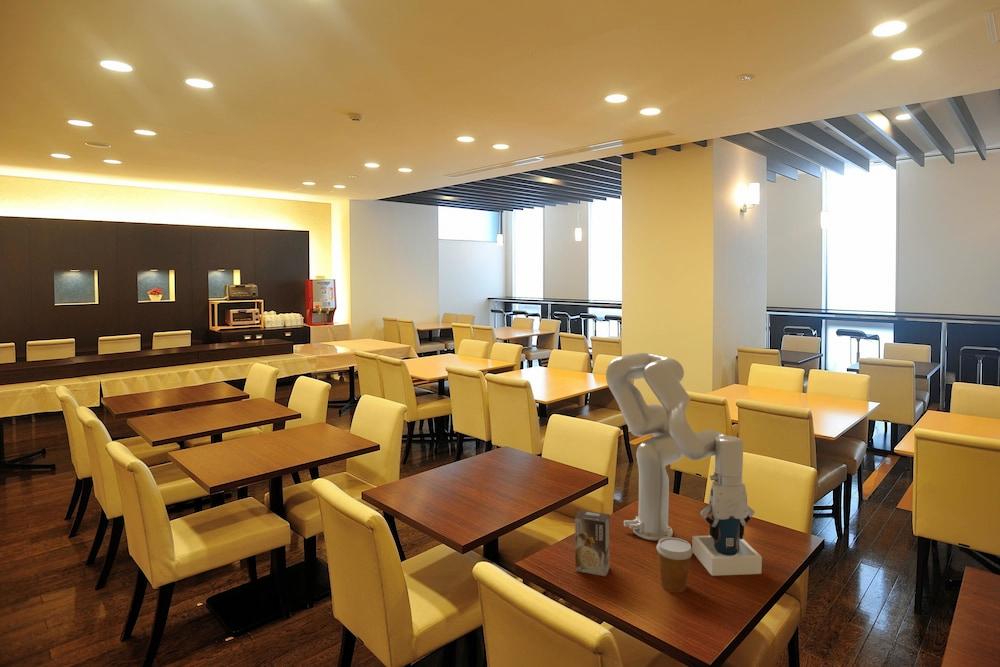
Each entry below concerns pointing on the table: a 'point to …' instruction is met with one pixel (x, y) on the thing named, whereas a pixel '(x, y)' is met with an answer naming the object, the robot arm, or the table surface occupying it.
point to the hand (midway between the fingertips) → (726, 537)
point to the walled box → (726, 558)
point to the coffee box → (592, 542)
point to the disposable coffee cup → (674, 563)
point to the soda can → (728, 536)
